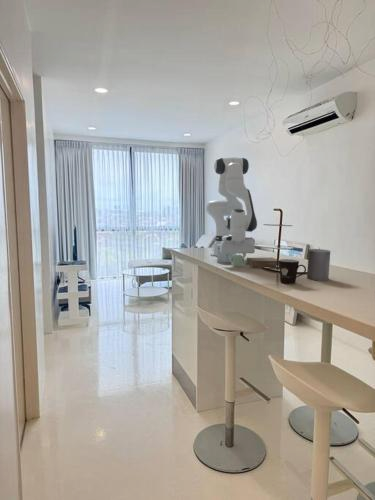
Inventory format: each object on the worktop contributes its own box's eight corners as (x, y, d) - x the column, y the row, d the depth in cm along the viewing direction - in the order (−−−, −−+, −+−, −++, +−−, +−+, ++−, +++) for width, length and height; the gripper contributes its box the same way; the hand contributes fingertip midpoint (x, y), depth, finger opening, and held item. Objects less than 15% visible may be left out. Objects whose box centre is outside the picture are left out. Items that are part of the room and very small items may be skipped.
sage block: (231, 264, 200) (231, 254, 200) (239, 264, 201) (240, 254, 200) (233, 266, 196) (234, 255, 195) (242, 266, 196) (242, 255, 196)
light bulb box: (233, 261, 215) (234, 244, 214) (234, 262, 209) (234, 245, 208) (216, 260, 217) (217, 244, 215) (216, 262, 210) (217, 245, 209)
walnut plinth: (246, 264, 203) (246, 257, 203) (272, 264, 205) (272, 257, 205) (253, 268, 189) (254, 261, 189) (281, 267, 192) (281, 260, 191)
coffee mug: (273, 281, 154) (274, 259, 153) (289, 280, 157) (290, 258, 156) (290, 286, 144) (291, 263, 142) (306, 285, 147) (308, 262, 145)
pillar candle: (303, 276, 166) (305, 246, 164) (322, 276, 167) (324, 246, 165) (312, 281, 157) (314, 248, 155) (332, 280, 157) (334, 248, 156)
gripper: (253, 237, 201) (252, 260, 203) (219, 236, 198) (218, 260, 200) (256, 237, 195) (255, 261, 196) (221, 237, 192) (221, 262, 194)
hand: (236, 261), depth 198 cm, fingers closed on sage block, 5 cm apart
